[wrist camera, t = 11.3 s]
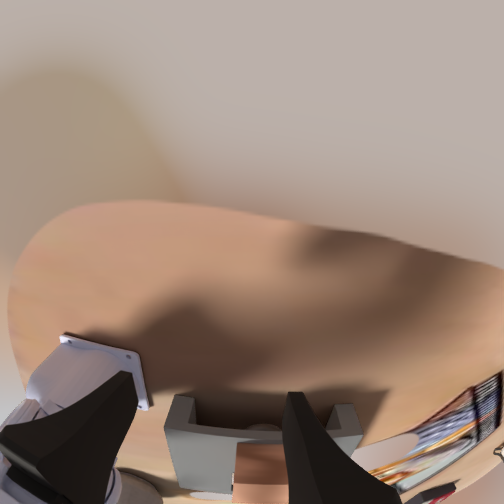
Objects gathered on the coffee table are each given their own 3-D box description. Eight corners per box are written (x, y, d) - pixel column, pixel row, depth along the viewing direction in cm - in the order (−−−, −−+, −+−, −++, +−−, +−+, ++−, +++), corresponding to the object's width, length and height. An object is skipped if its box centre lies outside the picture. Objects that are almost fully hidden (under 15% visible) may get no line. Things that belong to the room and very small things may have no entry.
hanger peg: (236, 445, 24) (232, 502, 17) (238, 418, 23) (233, 483, 16) (283, 447, 24) (286, 503, 17) (290, 421, 23) (297, 484, 16)
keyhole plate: (185, 461, 28) (179, 487, 24) (174, 394, 24) (163, 427, 20) (320, 467, 28) (325, 493, 24) (352, 403, 24) (363, 434, 20)
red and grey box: (430, 509, 35) (395, 522, 33) (426, 500, 39) (391, 511, 38) (458, 490, 32) (425, 503, 31) (452, 479, 37) (420, 491, 35)
